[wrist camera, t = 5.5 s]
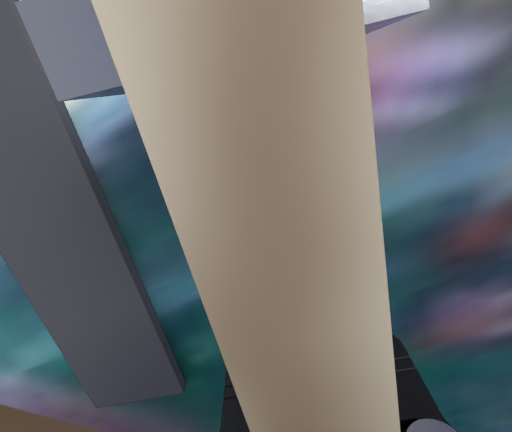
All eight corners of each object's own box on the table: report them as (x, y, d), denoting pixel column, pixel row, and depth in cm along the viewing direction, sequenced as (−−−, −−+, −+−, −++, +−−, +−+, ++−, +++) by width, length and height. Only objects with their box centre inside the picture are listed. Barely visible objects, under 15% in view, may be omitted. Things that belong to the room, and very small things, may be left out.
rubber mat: (12, -16, 17) (-2, -21, 16) (186, 382, 28) (183, 393, 27) (-123, 22, 17) (-144, 19, 16) (101, 397, 29) (96, 408, 28)
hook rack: (321, -39, 17) (566, -456, 4) (366, 347, 27) (471, 591, 14) (138, 10, 17) (-193, -194, 4) (250, 367, 28) (249, 617, 15)
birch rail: (282, -206, 5) (313, -544, 2) (392, 570, 15) (422, 680, 12) (106, -148, 5) (-53, -390, 3) (328, 577, 15) (344, 687, 12)
